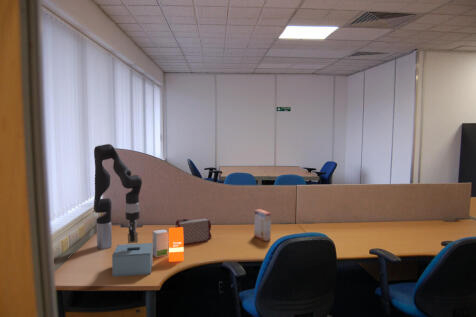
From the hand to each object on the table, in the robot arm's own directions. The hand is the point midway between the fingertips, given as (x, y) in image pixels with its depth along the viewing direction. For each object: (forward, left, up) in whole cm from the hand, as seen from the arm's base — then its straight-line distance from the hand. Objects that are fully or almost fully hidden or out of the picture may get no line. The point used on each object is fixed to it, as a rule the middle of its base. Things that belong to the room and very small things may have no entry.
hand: (132, 240), depth 178 cm
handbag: (-42, +37, -18) cm, 59 cm away
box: (0, 0, -17) cm, 17 cm away
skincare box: (-19, +14, -17) cm, 30 cm away
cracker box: (-40, +88, -17) cm, 99 cm away
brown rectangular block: (0, 0, -1) cm, 1 cm away
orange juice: (-11, +24, -17) cm, 32 cm away
